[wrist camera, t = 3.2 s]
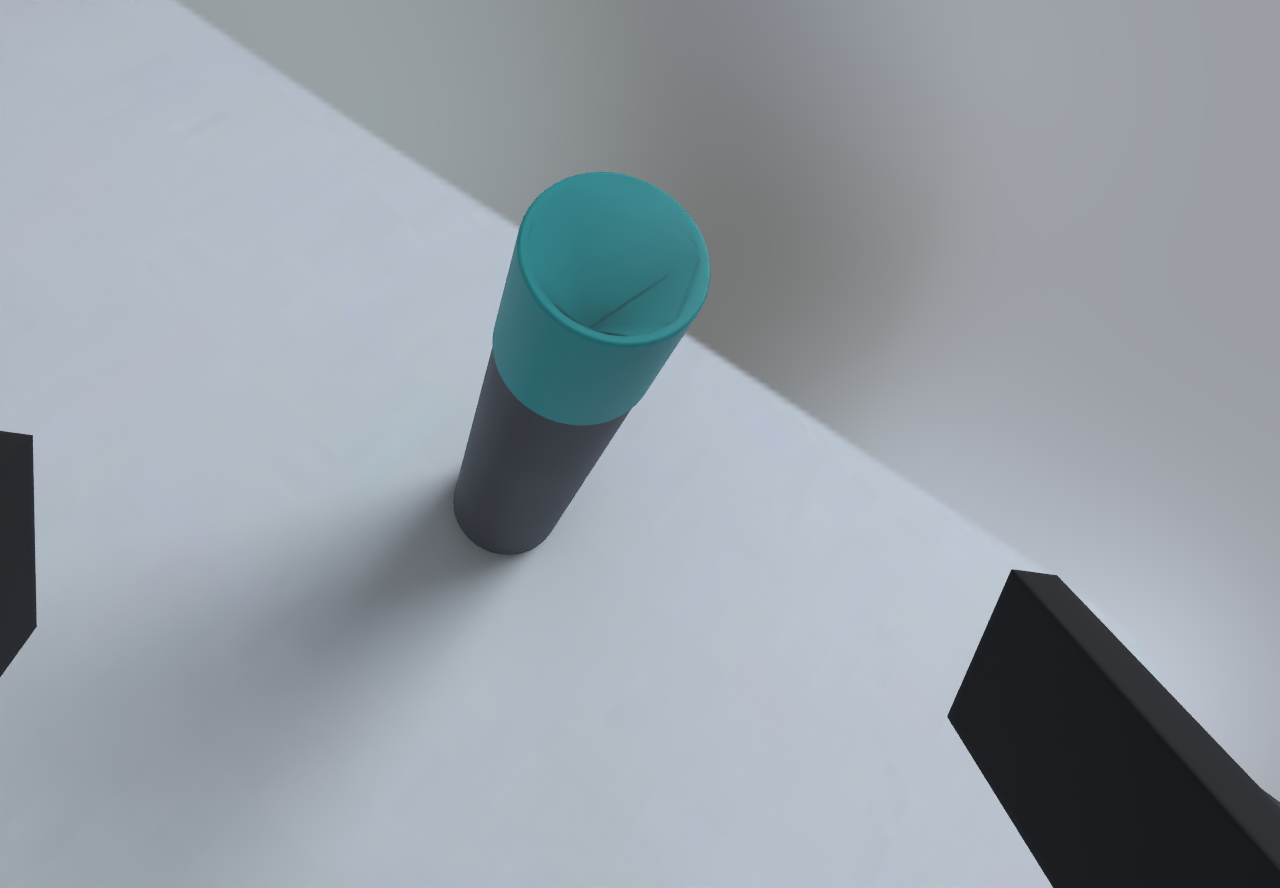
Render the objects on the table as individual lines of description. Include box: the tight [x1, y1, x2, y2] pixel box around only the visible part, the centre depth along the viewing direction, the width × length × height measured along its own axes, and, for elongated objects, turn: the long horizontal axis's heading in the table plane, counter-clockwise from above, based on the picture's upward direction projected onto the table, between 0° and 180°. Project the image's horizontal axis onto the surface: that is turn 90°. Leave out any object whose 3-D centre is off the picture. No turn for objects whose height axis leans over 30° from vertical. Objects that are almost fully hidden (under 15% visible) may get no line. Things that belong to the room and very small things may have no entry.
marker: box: [454, 172, 710, 554], centre depth 19 cm, size 3×3×12 cm
